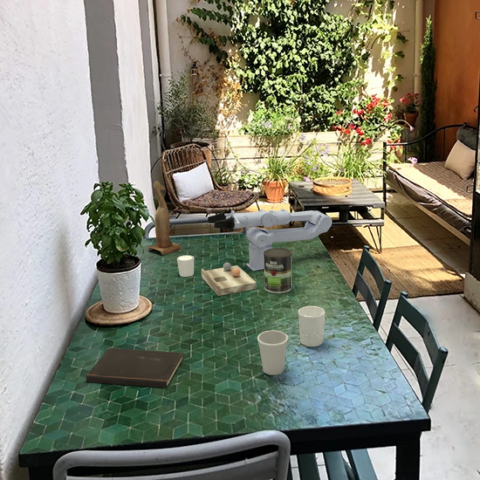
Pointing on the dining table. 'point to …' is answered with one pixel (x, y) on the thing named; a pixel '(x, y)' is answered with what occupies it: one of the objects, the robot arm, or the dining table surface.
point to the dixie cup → (273, 351)
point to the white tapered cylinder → (186, 265)
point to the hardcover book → (135, 367)
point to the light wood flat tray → (228, 281)
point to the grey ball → (227, 266)
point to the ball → (236, 272)
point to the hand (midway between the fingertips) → (211, 222)
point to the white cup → (311, 325)
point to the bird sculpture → (162, 225)
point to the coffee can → (278, 270)
